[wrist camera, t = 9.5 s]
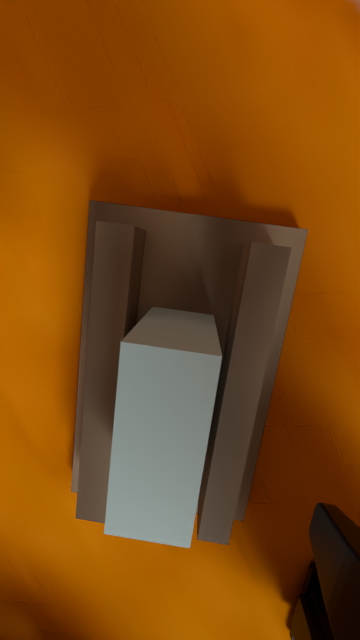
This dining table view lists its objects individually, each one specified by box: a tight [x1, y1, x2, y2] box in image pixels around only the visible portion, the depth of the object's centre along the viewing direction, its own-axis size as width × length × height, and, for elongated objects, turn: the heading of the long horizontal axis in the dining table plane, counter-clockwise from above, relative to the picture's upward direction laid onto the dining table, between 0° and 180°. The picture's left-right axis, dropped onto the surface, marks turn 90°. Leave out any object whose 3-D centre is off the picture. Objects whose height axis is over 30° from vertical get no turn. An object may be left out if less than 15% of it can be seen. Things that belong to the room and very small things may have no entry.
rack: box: [71, 200, 308, 545], centre depth 15 cm, size 10×16×4 cm, turn 172°
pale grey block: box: [104, 307, 222, 548], centre depth 12 cm, size 3×7×6 cm, turn 173°
